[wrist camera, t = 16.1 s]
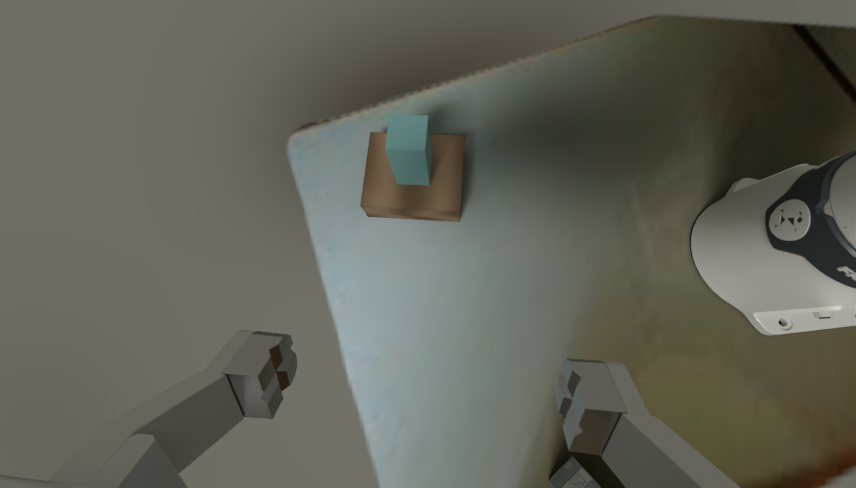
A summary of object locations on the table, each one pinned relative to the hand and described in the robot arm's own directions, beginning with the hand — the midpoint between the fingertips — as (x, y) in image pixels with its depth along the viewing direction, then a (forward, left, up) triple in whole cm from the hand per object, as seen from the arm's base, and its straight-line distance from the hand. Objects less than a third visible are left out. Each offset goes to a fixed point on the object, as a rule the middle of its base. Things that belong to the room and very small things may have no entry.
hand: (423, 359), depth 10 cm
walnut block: (+5, -20, -31) cm, 37 cm away
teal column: (+5, -20, -27) cm, 34 cm away
